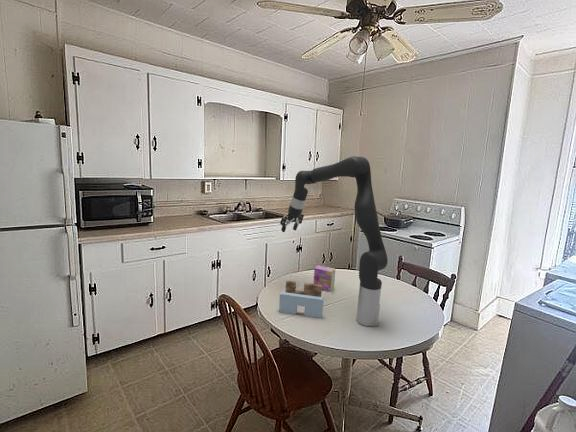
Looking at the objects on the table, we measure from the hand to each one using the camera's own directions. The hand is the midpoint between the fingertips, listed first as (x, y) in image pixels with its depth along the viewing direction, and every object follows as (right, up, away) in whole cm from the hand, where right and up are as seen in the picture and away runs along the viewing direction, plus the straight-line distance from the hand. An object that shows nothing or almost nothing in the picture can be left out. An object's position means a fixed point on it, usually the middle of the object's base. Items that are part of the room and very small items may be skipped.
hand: (288, 230), depth 175 cm
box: (+19, -32, -1) cm, 38 cm away
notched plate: (+5, -37, -31) cm, 49 cm away
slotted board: (+7, -35, -17) cm, 39 cm away
